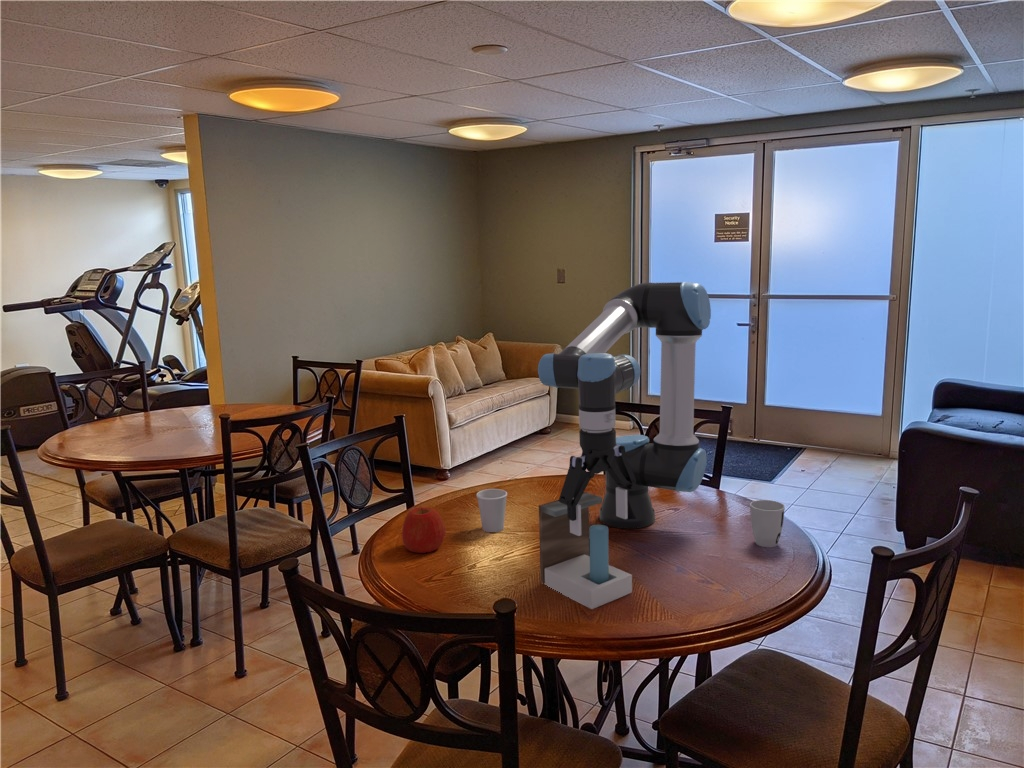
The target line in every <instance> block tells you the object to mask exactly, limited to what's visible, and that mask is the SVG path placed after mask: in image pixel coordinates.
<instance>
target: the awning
mask: <svg viewBox="0 0 1024 768" xmlns="http://www.w3.org/2000/svg"><path fill="white" fill-rule="evenodd" d="M573 499H574V497H573ZM602 502H603V497H601V496H599V495H595V494H593V493H589V492H586V491H584V493H583V494H582V496H581V498H580V500H579V502H578V504H579V505H581V536H577V535H575V534H572V533H570V520H569V519H568V517H567V515H568V514H567V513H568V512H567V505H566V504H563V503H560V502H559V499H555V500H553V501H550V502H546V503H542V504H539V505H538V527H539V528H538V529H539V531H538V532H539V533H538V534H539V568H540V570H539V572H540V573H539V574H540V575H539V576H540V584H541V583H543V584H544V583H545V568H547V567H550V566H553V565H556V564H559V563H561V562H564V561H567V560H570V559H572V558H575V557H578V556H581V555H584V554H585V555H587V556H589V539H590V537H589V527H590V521H589V520H590V518H589V517H590V515H589V514H590V513H589V509H590V507H592V506H596V505H599V504H602ZM543 584H542V585H543ZM544 585H545V584H544Z"/></svg>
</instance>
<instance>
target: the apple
mask: <svg viewBox="0 0 1024 768" xmlns="http://www.w3.org/2000/svg"><path fill="white" fill-rule="evenodd" d="M401 534H402V542H403V545H404V547H405V548H406V549H407V550H408V551H409V552H411V553H417V554H426V552H427V553H431V552H433V551H436V550H437V549H439V548H440V546H441V545H442V544H443V541H444V540H445V539H444V538H445V536H446V525H445V523H444V521H443V518H442V517H441V515H440V513H439V512H438V511H436V510H435V509H433V508H431V507H425V506H423V507H415V508H413V509H411V510H409V512H408V513H407V514H406V516H405V517H404V521H403V525H402V533H401Z"/></svg>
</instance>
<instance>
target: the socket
mask: <svg viewBox="0 0 1024 768" xmlns="http://www.w3.org/2000/svg"><path fill="white" fill-rule="evenodd" d="M545 585H547V586H548V588H549V587H550V588H549V589H551V588H552V589H551V590H553V589H554V590H553V591H555V590H556V591H555V592H557V591H558V592H557V593H559V592H560V593H559V594H561V593H562V594H561V595H563V596H565V597H566V598H568V597H569V599H571V600H573V601H574V602H577V604H578V603H579V604H580V605H583V606H584V607H586V608H588V609H590V610H594V609H596V608H598V607H601V606H604V605H605V604H608V603H610V602H613V601H615V600H617V599H620V598H622V597H625V596H627V595H629V594H631V593H633V574H631V573H629V572H627V571H624V570H622V569H619V568H617V567H615V566H613V565H610V564H609V581H607V582H605V583H602V584H600V585H598V584H596V583H594V582H592V581H590V557H589V556H587V555H585V554H584V555H581V556H578V557H575V558H572V559H570V560H567V561H564V562H561V563H559V564H556V565H553V566H550V567H547V568H545V584H544V586H545ZM547 586H546V587H547Z"/></svg>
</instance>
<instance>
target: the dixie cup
mask: <svg viewBox="0 0 1024 768" xmlns="http://www.w3.org/2000/svg"><path fill="white" fill-rule="evenodd" d="M475 496H476V498H477V502H478V503H477V504H478V510H479V515H480V522H481V527H482V531H483V530H484V532H485V531H486V532H485V533H489V532H496V533H499V532H502V531H504V525H505V517H506V516H505V515H506V506H507V505H506V503H507V496H508V492H507V491H506V490H504V489H499V488H487V489H486V488H485V489H483V490H480V491H478V492H477V493H476V495H475Z"/></svg>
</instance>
